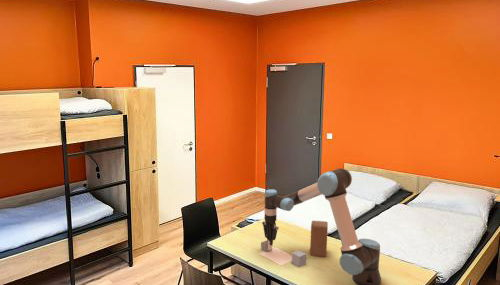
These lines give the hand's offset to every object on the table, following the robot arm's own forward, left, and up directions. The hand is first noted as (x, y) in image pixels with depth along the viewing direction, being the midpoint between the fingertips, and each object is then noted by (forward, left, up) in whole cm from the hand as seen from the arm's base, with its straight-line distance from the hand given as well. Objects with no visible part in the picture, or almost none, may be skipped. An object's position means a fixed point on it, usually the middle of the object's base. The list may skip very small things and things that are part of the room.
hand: (269, 249), depth 244 cm
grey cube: (+3, 0, -2) cm, 4 cm away
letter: (-7, 0, -2) cm, 8 cm away
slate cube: (-22, -3, -2) cm, 23 cm away
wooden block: (-20, -23, -2) cm, 31 cm away
